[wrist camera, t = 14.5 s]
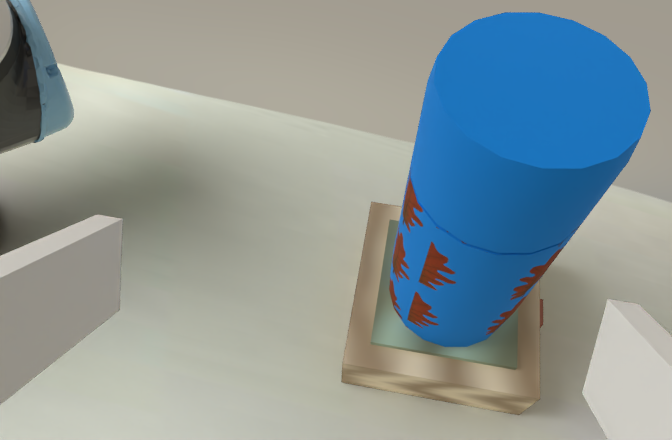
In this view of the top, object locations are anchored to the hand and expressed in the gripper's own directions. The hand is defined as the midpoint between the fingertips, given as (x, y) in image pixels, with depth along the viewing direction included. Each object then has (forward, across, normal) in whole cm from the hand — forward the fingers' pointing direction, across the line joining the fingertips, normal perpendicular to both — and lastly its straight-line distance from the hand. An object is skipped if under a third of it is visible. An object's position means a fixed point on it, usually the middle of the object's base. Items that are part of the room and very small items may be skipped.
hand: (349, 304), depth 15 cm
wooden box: (+38, +7, -16) cm, 41 cm away
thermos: (+33, +7, -11) cm, 36 cm away
